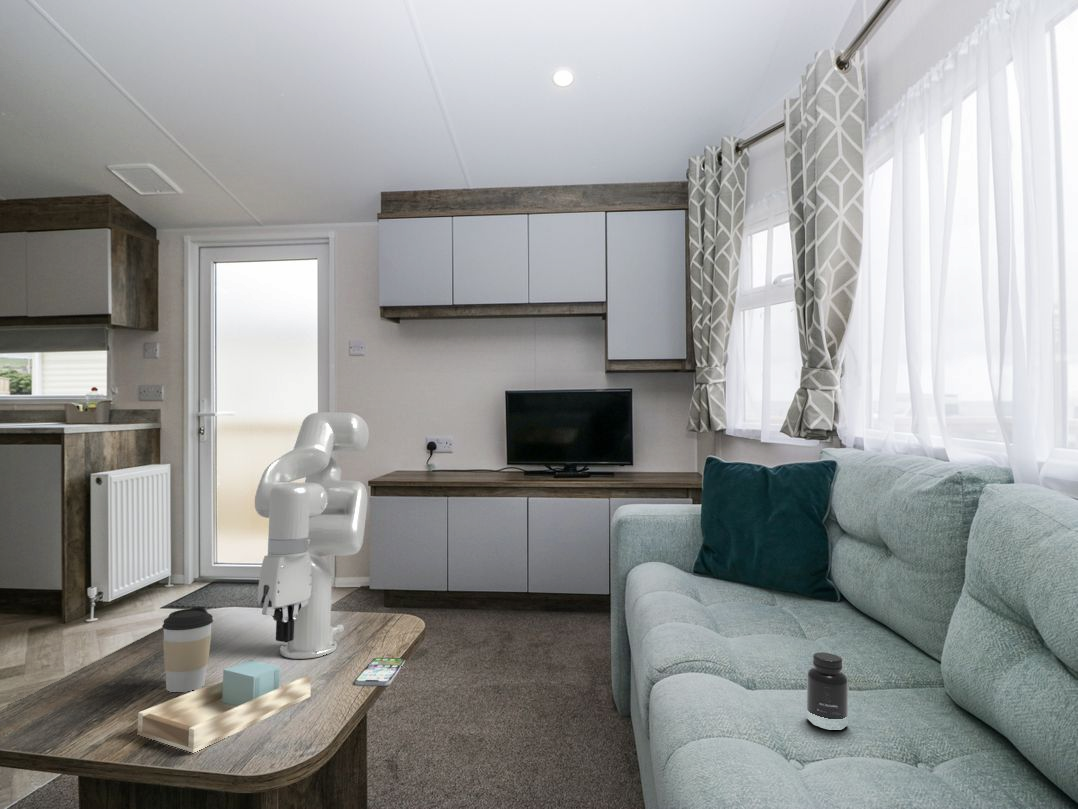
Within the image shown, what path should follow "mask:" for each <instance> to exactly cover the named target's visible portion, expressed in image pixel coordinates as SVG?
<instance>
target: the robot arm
mask: <svg viewBox="0 0 1078 809" xmlns="http://www.w3.org/2000/svg"><path fill="white" fill-rule="evenodd" d="M369 437H370V430H369V426H368V424H367V422H366V421H365V420H364V419H363V418H362V417H361V416H360V415H358V414H356V413H353V412H332V411H331V412H329V411H327V412H326V411H324V412H320V411H319V412H318V411H317V412H314V413H313V412H312V413H310V414H309V415H307V416H305V418H304V419H303V421H302V423H301V426H300V429H299V432H298V434H297V437H296V440H295V443H294V447H293V449H292V450H290V451H289V452H287V453H285V454H283V455H281V457H278V458H277V459H276V460H274V461H272V462H271V463H270V464H269V465H268V466H267V467H266V468H265V470H264V471H263V472H262V475H261V478H260V480H259V482H258V485H257V489H256V492H255V496H254V509H255V511H256V513H257V514H258V515H259V516H260V517H262V518H265V519H268V535H267V536H268V537H267V538H268V540H267V555H264V557H263V558H262V564H261V568H260V572H259V578H258V587H257V605H258V606H259V607H262V611H261V615H263V616H269V617H270V616H271V617H272V618H273V619H272V620H274V622H276V623H275V625H276V626H275V641H277V642H281V643H283V644H282V645H281V646H280V647H279V654H280V655H281V656H282V657H284V658H288V659H294V660H299V659H300V660H303V659H304V660H305V659H314V658H318V657H322V656H323V655H324V656H326V654H327V655H329V654H331V653H333V652H335V650H337V646H338V644H337V643H338V642H337V641H336V640H335V639H334V637H335V635H337V634H340V633H342V632H344V630H345V629H344V625H343V624H341V623H339V624H337V625H334V626H332V625H331V618H332V617H331V614H332V581H333V580H332V578H333V577H332V571H331V568H330V566H329V565H328V564H327V563H326V561H325V560H324V559H323V557H326V556H329V557H330V556H352V555H355V554H358V553H359V552H360V550H361V548H362V546H363V543H364V537H365V528H366V520H367V511H368V501H369V500H368V491H367V489H366V488H367V487H366V485H364V484H363V483H362V482H361V481H358V480H357V481H356V480H342V479H341V477H342V469H341V467H340V465H339V464H338V462H337V461H336V460H335V459H334V458H333V457H332V453H333V452H361V451H363V450H365V449H366V447H367V446H368V443H369V439H370V438H369ZM304 478H305V479H304ZM300 479H304V482H297V480H300ZM294 481H296V482H294Z"/></svg>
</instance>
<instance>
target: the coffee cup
mask: <svg viewBox="0 0 1078 809" xmlns="http://www.w3.org/2000/svg"><path fill="white" fill-rule="evenodd" d="M213 623H214V619H213V615H212V614H210V613H208V610H206V608H205V607H203V606H194V607H191V608H185V609H180V610H179V609H178V610H175V611H173V612H170V613H169V615H168V617H166V618H164V620H163V624H162V626H161V627H162V629H163V639H162V644H163V646H162V647H163V659H164V660H163V662H164V663H163V664H164V665H163V666H164V667H163V668H164V670H165V690H166V691H167V690H168V691H170V692H169V693H171V692H184V693H188V692H187V691H190V692H192V690H196V689H199V688H202V686H203V687H204V686H205V685H206V676H207V670H208V669H207V668H208V663H209V658H210V657H209V655H210V649H211V640H212V624H213ZM204 684H205V685H204ZM168 691H167V692H168Z"/></svg>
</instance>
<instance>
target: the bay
mask: <svg viewBox="0 0 1078 809" xmlns="http://www.w3.org/2000/svg"><path fill="white" fill-rule="evenodd" d="M311 688H312V677H311V676H308V675H305V676H302V677H300V678H297V679H295V680H294V681H292V682H289V683H287V684H285V685H282V684H279V688H278V689H276V690H273V691H271V692H269V693H267V694H264V695H262V696H260V697H258V698H255V699H253V700H251V701H249V702H247V703H244V704H242V705H240V706H234V705H230V704H227V703H223V702H222V696H223V678H222V679H220V680H217V681H215V682H212V683H210V684H208V685H204V686H203V687H201V688H199V689H197V690H194V691H190V692H186V693H185V694H184V693H183V694H181V695H179V696H177V697H174V698H172V699H169V700H165V701H164V702H161V703H158V704H156V705H154V706H151V707H149V708H146V709H144V710H141V711H139V712H137V735H136V736H138V735H140V736H139V737H141V736H143V737H142V738H144V737H146V738H145V739H147V738H149V739H148V740H150V739H152V740H151V741H153V740H156V741H159V742H162V743H165V744H168V745H171V746H174V747H177V748H180V749H183V750H187V751H189V752H192V753H194V752H196V753H198V752H200V751H199V750H201V749H203V748H205V747H207V746H209V745H211V746H213V745H215V744H217V743H218V741H219V742H221V741H223V740H225V739H227V738H228V736H229V737H231V736H233V735H235V734H238V733H239V732H241V731H243V730H245V729H247V728H249V727H251V726H253V725H256V724H257V723H259V722H262V721H264V720H266V719H267V718H270V717H272V716H274V715H276V714H278V713H280V712H282V711H284V710H286V709H288V708H291V707H293V706H294V705H296V704H298V703H300V702H302V701H305V700H306V699H308V698H310V697H311V692H312V691H311V690H312V689H311ZM224 738H225V739H224ZM222 739H223V740H222ZM220 740H221V741H220ZM156 741H155V742H156ZM159 742H158V743H159ZM216 742H217V743H216ZM162 743H161V744H162ZM214 743H215V744H214ZM165 744H164V745H165ZM212 744H213V745H212ZM168 745H167V746H168ZM171 746H170V747H171ZM174 747H173V748H174ZM209 747H210V746H209ZM177 748H176V749H177ZM207 748H208V747H207ZM180 749H179V750H180ZM205 749H206V748H205ZM183 750H182V751H183ZM203 750H204V749H203ZM197 751H198V752H197ZM201 751H202V750H201ZM189 752H188V753H189ZM192 753H191V754H192ZM194 754H195V753H194Z"/></svg>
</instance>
